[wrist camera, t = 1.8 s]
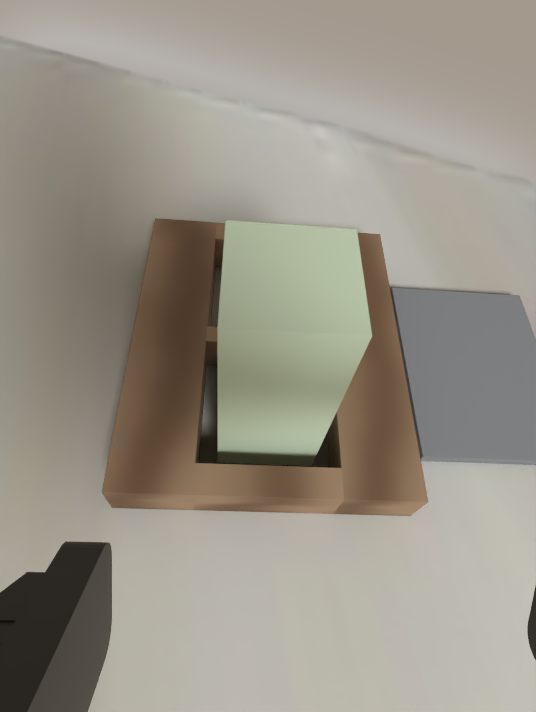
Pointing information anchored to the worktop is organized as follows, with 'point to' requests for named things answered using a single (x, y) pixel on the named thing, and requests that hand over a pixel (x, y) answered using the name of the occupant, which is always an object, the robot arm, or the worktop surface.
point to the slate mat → (469, 375)
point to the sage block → (286, 338)
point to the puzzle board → (186, 398)
